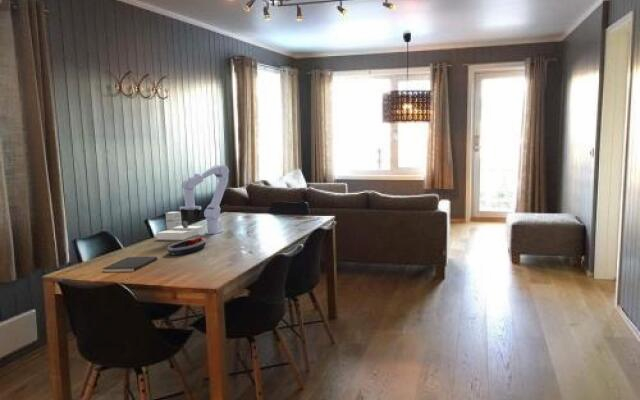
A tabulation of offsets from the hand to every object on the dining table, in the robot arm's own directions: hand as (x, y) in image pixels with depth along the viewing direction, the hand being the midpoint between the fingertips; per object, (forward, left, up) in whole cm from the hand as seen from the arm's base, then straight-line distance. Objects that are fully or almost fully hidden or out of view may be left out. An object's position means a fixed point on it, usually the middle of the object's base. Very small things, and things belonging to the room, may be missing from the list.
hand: (191, 221), depth 331 cm
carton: (+3, -9, -10) cm, 14 cm away
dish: (+35, +21, -10) cm, 42 cm away
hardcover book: (+71, +13, -11) cm, 73 cm away
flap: (-9, -9, -6) cm, 14 cm away
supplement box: (-20, -28, -10) cm, 36 cm away
